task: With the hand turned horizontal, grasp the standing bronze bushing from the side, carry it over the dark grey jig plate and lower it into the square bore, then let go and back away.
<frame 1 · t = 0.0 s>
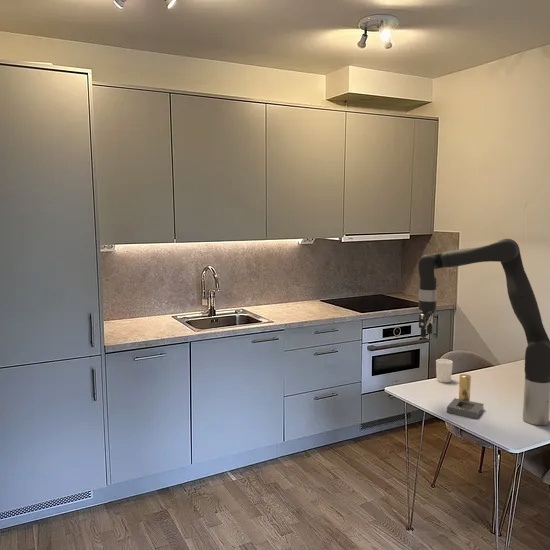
hand: (426, 335, 223), 29 cm above the table, tool pointing down, fingers open, 8 cm apart
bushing: (464, 401, 222), on the table
jig: (465, 410, 211), on the table
white cup: (443, 380, 251), on the table
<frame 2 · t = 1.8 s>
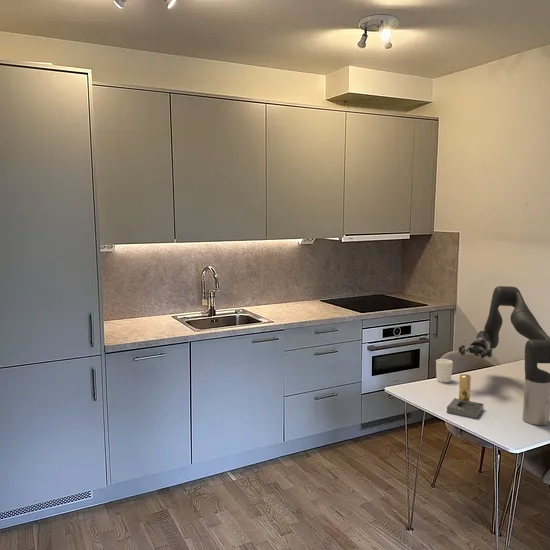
hand: (471, 354, 229), 19 cm above the table, tool horizontal, fingers open, 8 cm apart
nothing on the table moved.
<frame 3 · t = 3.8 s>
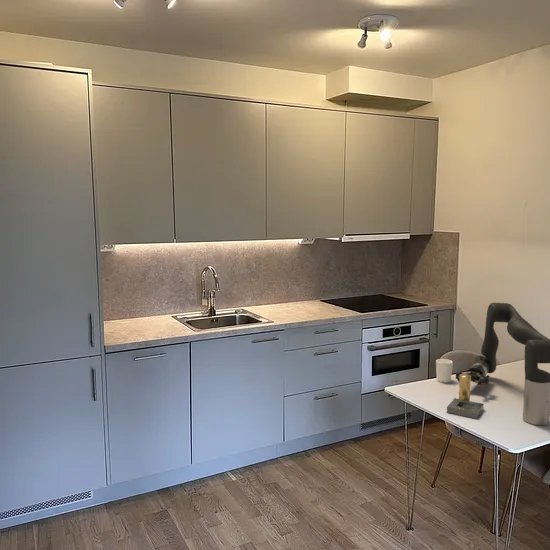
hand: (468, 381, 226), 7 cm above the table, tool horizontal, fingers open, 8 cm apart
nothing on the table moved.
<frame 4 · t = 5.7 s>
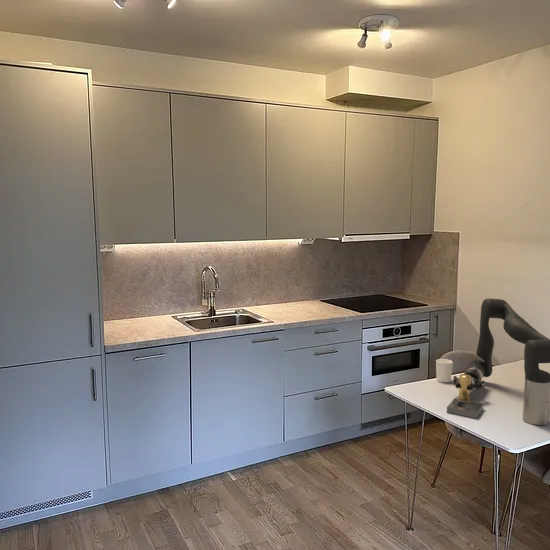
hand: (463, 387, 219), 8 cm above the table, tool horizontal, fingers closed on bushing, 4 cm apart
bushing: (464, 401, 222), on the table, touching gripper
everything else where it was.
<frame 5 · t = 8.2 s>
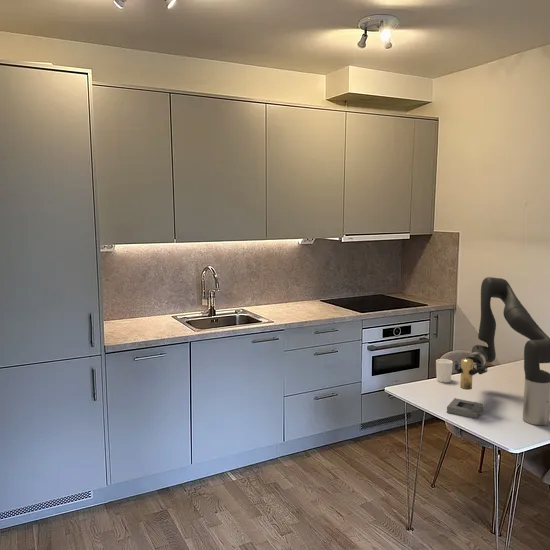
hand: (465, 372, 207), 18 cm above the table, tool horizontal, fingers closed on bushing, 4 cm apart
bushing: (466, 387, 210), point 10 cm above the table, touching gripper
everything else where it was.
when the fingers open (9 cm above the table, at t = 10.5 s): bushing drops 1 cm, resting in jig.
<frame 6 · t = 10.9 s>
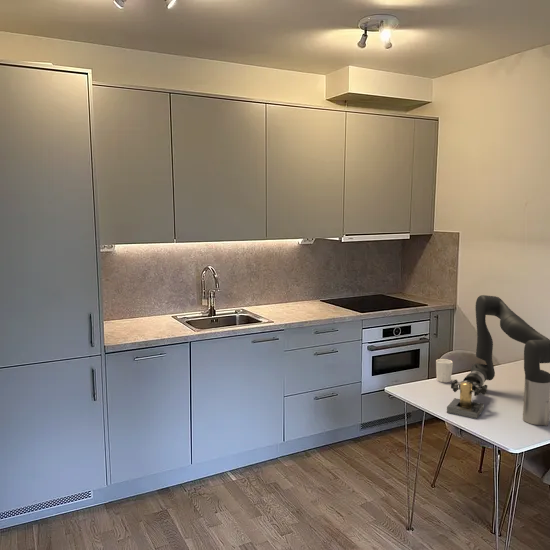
hand: (464, 391, 209), 9 cm above the table, tool horizontal, fingers open, 8 cm apart
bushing: (465, 410, 212), resting in jig
everything else where it was.
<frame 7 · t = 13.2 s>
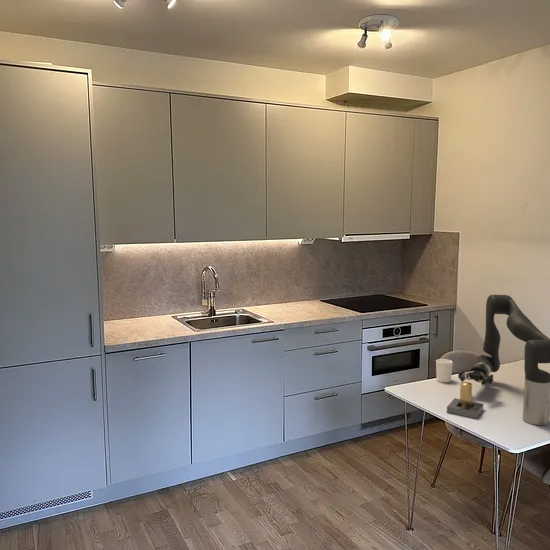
hand: (472, 381, 220), 10 cm above the table, tool horizontal, fingers open, 8 cm apart
nothing on the table moved.
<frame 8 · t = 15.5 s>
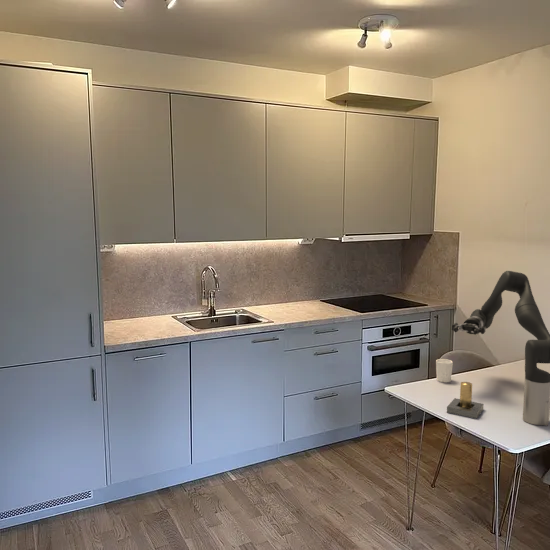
hand: (464, 331, 227), 30 cm above the table, tool horizontal, fingers open, 8 cm apart
nothing on the table moved.
at the end: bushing 0.1 cm off-centre on the jig, point 0.0 cm above the jig's base; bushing tilted 0°; the gripper is holding nothing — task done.
